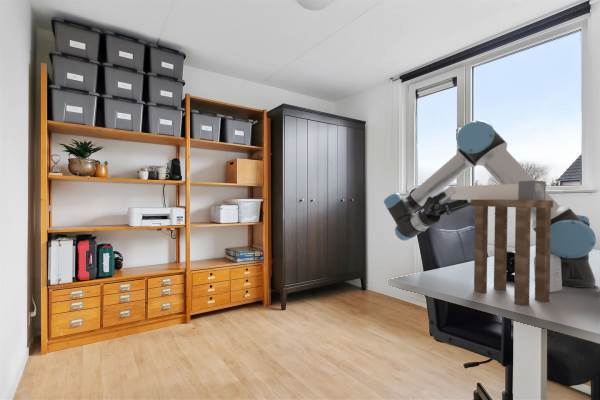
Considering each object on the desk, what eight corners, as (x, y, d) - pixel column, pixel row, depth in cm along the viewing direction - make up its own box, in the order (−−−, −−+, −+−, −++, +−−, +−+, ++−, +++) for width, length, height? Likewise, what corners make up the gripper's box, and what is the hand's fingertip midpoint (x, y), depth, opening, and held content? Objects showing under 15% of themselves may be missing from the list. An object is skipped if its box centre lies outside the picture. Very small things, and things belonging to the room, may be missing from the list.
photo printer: (548, 288, 102) (546, 250, 103) (564, 290, 98) (562, 251, 99) (533, 291, 97) (531, 251, 98) (549, 294, 93) (547, 252, 94)
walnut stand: (495, 286, 101) (496, 200, 101) (551, 301, 86) (552, 200, 86) (469, 289, 96) (470, 199, 96) (523, 306, 82) (525, 199, 82)
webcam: (505, 282, 106) (505, 253, 106) (491, 277, 114) (492, 249, 114) (527, 282, 106) (528, 253, 106) (512, 277, 114) (513, 249, 114)
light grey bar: (459, 199, 110) (460, 185, 110) (545, 200, 85) (545, 181, 85) (449, 199, 108) (449, 184, 108) (533, 200, 83) (534, 180, 83)
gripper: (452, 226, 124) (498, 199, 107) (403, 227, 114) (445, 198, 97) (445, 209, 127) (488, 181, 110) (397, 209, 117) (436, 178, 100)
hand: (468, 189), depth 104 cm, fingers open, 13 cm apart
